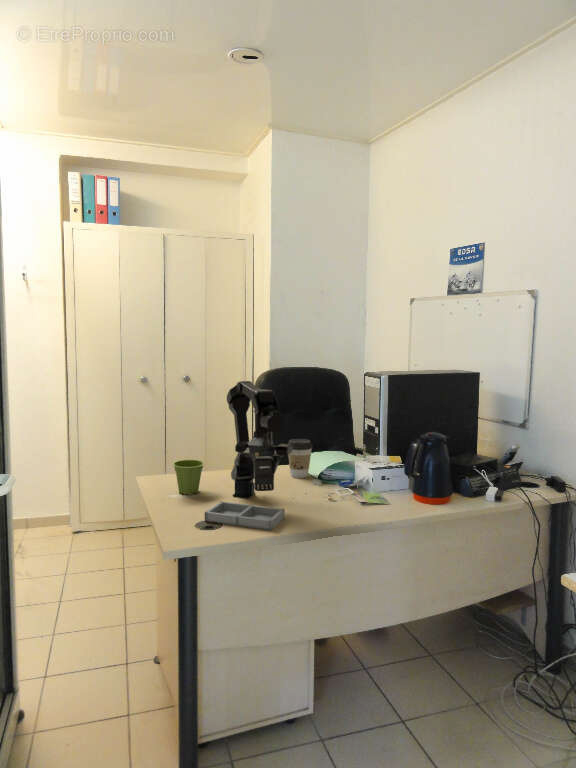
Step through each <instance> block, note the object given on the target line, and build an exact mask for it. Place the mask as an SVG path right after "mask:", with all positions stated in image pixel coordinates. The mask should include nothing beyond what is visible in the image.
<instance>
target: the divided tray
mask: <svg viewBox="0 0 576 768" xmlns="http://www.w3.org/2000/svg"><path fill="white" fill-rule="evenodd" d="M284 519H285V508H280V507H279V508H278V507H271V506H270V507H269V506H261V505H254V504H246V503H235V502H231V501H230V502H228V501H220V502H218V503H216V504H215V505H214V506H212V507H210V508H209V509H208V510H206V511H204V522H205V521H209V522H208V523H212V522H217V523H216V524H219V523H222V524H221V525H226V524H228V525H227V526H235V527H241V528H249V529H255V530H262V531H269V532H270V531H273V530H274V529H273V528H274V527H275V528H276V527H277V526H278V525H279V524H280V523H281V522H282V521H284Z"/></svg>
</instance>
